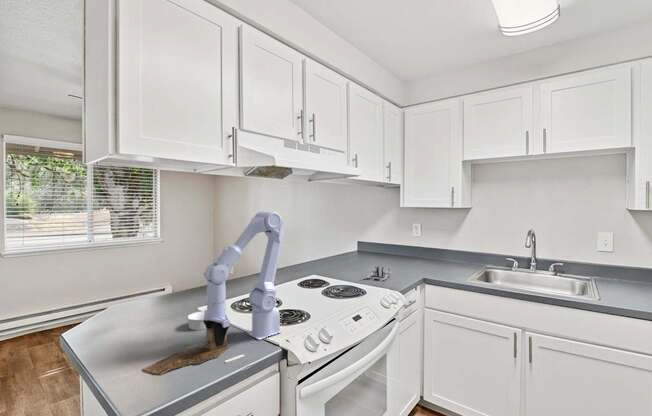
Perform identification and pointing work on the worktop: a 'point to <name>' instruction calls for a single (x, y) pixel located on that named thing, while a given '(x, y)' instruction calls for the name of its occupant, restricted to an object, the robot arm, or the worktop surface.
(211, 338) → the mallet
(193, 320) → the ramekin
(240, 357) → the strip
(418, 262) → the worktop surface
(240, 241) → the robot arm
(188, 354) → the wooden fragment
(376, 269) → the bike brake
